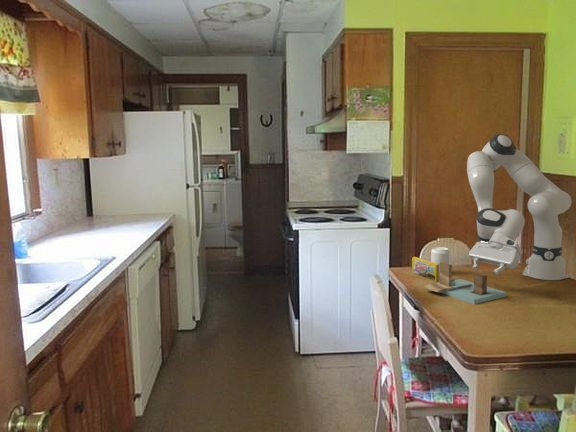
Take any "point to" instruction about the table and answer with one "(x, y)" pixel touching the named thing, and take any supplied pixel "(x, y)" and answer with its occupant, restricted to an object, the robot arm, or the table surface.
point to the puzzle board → (471, 292)
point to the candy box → (425, 269)
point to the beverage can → (440, 255)
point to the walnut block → (480, 284)
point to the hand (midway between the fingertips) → (484, 271)
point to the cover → (442, 279)
